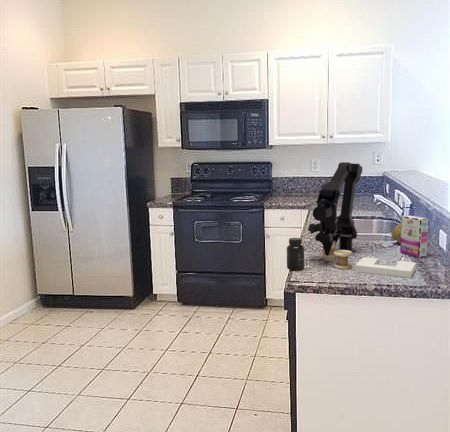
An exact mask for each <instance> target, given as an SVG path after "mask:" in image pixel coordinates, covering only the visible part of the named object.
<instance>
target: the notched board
mask: <svg viewBox="0 0 450 432" xmlns="http://www.w3.org/2000/svg"><path fill="white" fill-rule="evenodd" d="M416 268H417V262H414V261H406V260H405V261H403V260H399V261H398V262H397V264H396V265H395V266H393V265H385V264H384V265H381V264H379V258H376V257H375V258H374V257H362V258H361V259H359V261H358V262H356V263H355V265H354V272H355V271H356V272H357V273H365V274H372V275H380V276H382V275H383V276H390V277H398V278H407V279H411V278H412V276H413V274H414V273H415V271H416Z"/></svg>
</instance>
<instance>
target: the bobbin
mask: <svg viewBox="0 0 450 432" xmlns="http://www.w3.org/2000/svg"><path fill="white" fill-rule="evenodd" d="M334 255H335V257H337V261H335V262H334V263H333V268H335V269H337V270H349V269H352V267H353V264H352V263H351V262H349V257H352V256H353V251H352V252H351V251H348V250H337V249H336V251H334Z"/></svg>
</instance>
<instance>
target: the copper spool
mask: <svg viewBox="0 0 450 432" xmlns="http://www.w3.org/2000/svg"><path fill="white" fill-rule="evenodd" d="M336 250H337V249H336V246H335V241H334V242H333V244H332V247H331V250H330V253H329V255H328V256H327V255H325V251H324V247H323V246H322V260H323V261H325V262H336V256H335V255H334V251H336Z"/></svg>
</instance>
